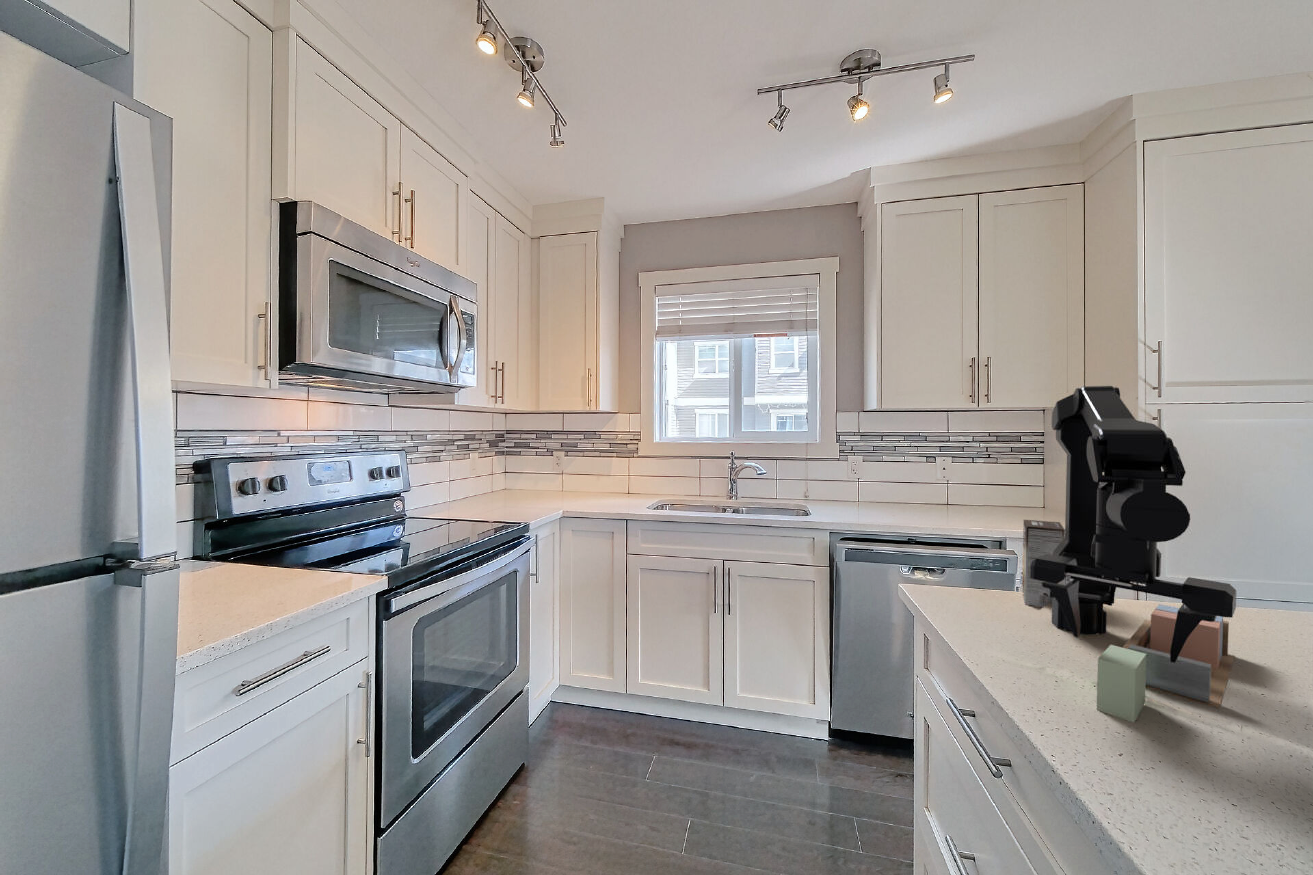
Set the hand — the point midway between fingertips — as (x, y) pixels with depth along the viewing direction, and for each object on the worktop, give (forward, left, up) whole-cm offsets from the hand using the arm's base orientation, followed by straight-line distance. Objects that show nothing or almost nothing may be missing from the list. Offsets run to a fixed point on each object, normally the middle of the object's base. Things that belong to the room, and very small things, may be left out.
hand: (1122, 648), depth 66 cm
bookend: (+7, +5, -6) cm, 10 cm away
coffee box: (+4, +44, -8) cm, 45 cm away
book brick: (+14, +18, -6) cm, 24 cm away
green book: (0, 0, -8) cm, 8 cm away
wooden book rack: (+12, +14, -7) cm, 20 cm away
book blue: (+16, +22, -6) cm, 28 cm away
